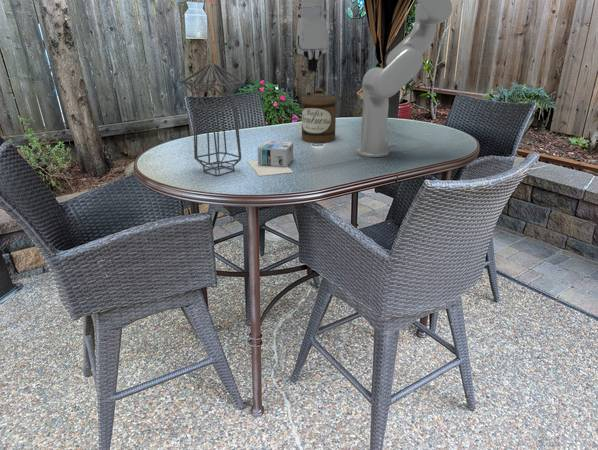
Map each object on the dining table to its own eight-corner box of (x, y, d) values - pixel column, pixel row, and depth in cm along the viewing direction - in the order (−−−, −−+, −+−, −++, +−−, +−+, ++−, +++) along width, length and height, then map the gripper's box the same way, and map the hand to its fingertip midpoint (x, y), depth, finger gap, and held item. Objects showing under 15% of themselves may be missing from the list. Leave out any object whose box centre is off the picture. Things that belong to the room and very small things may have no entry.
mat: (278, 158, 161) (278, 158, 161) (293, 172, 146) (293, 171, 146) (247, 162, 158) (247, 161, 158) (259, 176, 142) (259, 175, 142)
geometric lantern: (187, 171, 148) (176, 63, 134) (225, 163, 158) (218, 62, 145) (213, 181, 138) (204, 65, 124) (252, 171, 148) (247, 63, 134)
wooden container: (297, 141, 187) (296, 89, 177) (307, 134, 199) (307, 85, 190) (330, 144, 182) (331, 90, 173) (338, 136, 195) (340, 86, 186)
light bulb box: (286, 148, 148) (256, 146, 150) (286, 167, 151) (257, 165, 153) (293, 141, 158) (265, 139, 160) (293, 159, 160) (265, 157, 162)
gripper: (328, 13, 149) (327, 69, 157) (287, 14, 145) (288, 71, 153) (337, 13, 143) (335, 71, 151) (294, 13, 138) (295, 73, 146)
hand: (312, 71), depth 151 cm, fingers closed
